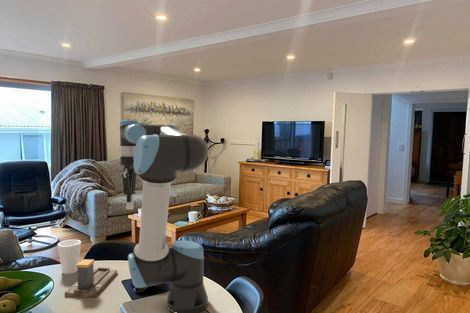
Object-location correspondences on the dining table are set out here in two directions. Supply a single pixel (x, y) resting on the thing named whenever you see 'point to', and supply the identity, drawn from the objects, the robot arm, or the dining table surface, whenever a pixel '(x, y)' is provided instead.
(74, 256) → the foam cup
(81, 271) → the fader tab
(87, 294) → the brown wooden flat board
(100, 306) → the dining table surface
